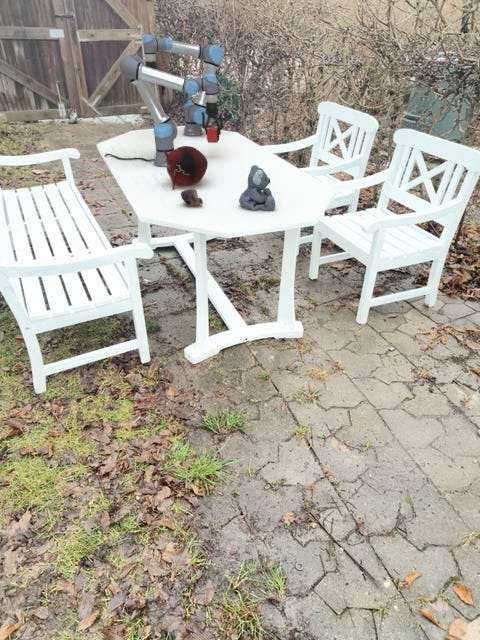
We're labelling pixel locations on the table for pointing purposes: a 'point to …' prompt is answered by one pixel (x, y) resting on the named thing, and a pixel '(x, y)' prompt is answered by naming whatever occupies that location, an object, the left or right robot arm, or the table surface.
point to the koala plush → (257, 191)
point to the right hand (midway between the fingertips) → (154, 95)
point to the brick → (212, 135)
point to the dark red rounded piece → (186, 165)
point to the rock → (191, 197)
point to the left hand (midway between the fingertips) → (213, 139)
